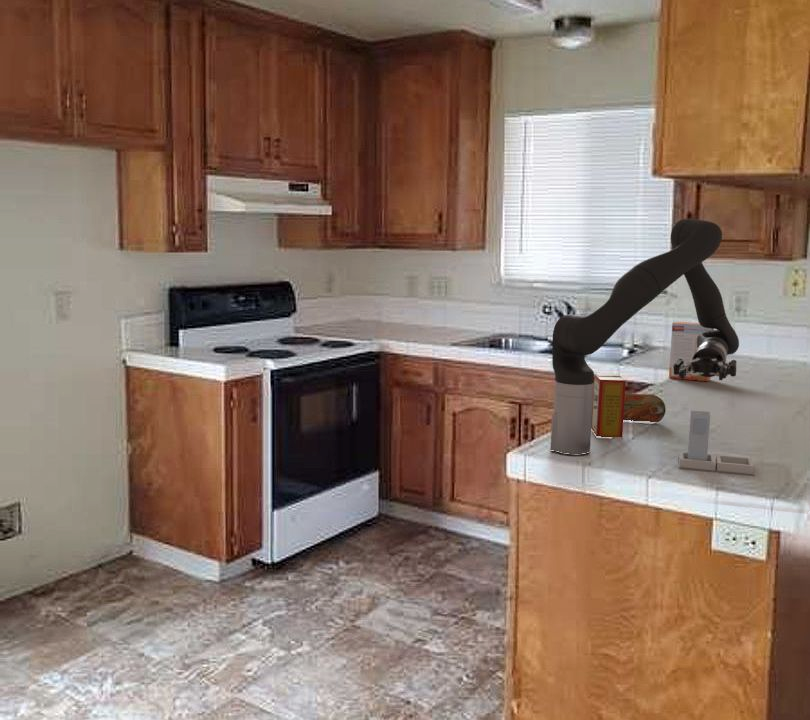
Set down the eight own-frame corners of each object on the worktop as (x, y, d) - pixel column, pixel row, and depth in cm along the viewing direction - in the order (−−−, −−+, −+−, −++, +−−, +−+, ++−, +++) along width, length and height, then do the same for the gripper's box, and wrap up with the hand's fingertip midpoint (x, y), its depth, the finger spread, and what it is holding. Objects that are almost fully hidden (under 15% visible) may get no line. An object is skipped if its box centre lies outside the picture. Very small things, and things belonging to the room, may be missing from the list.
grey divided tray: (678, 474, 194) (679, 461, 194) (677, 461, 205) (678, 449, 204) (754, 481, 190) (755, 468, 189) (750, 468, 200) (751, 456, 200)
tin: (609, 422, 246) (611, 393, 245) (608, 420, 249) (610, 391, 248) (664, 425, 244) (666, 395, 242) (663, 423, 247) (665, 393, 245)
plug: (687, 466, 196) (691, 414, 194) (687, 461, 201) (691, 410, 199) (706, 468, 195) (710, 416, 193) (705, 463, 200) (709, 411, 198)
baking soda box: (622, 439, 225) (625, 379, 223) (596, 438, 226) (600, 378, 223) (615, 431, 235) (619, 372, 232) (591, 430, 235) (594, 372, 233)
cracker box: (710, 380, 321) (715, 323, 318) (707, 382, 316) (711, 325, 313) (672, 376, 328) (676, 320, 325) (668, 378, 323) (672, 322, 320)
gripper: (680, 343, 221) (670, 359, 207) (740, 344, 215) (733, 361, 201) (680, 371, 223) (670, 389, 209) (740, 373, 217) (733, 392, 203)
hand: (701, 375), depth 205 cm, fingers open, 8 cm apart
